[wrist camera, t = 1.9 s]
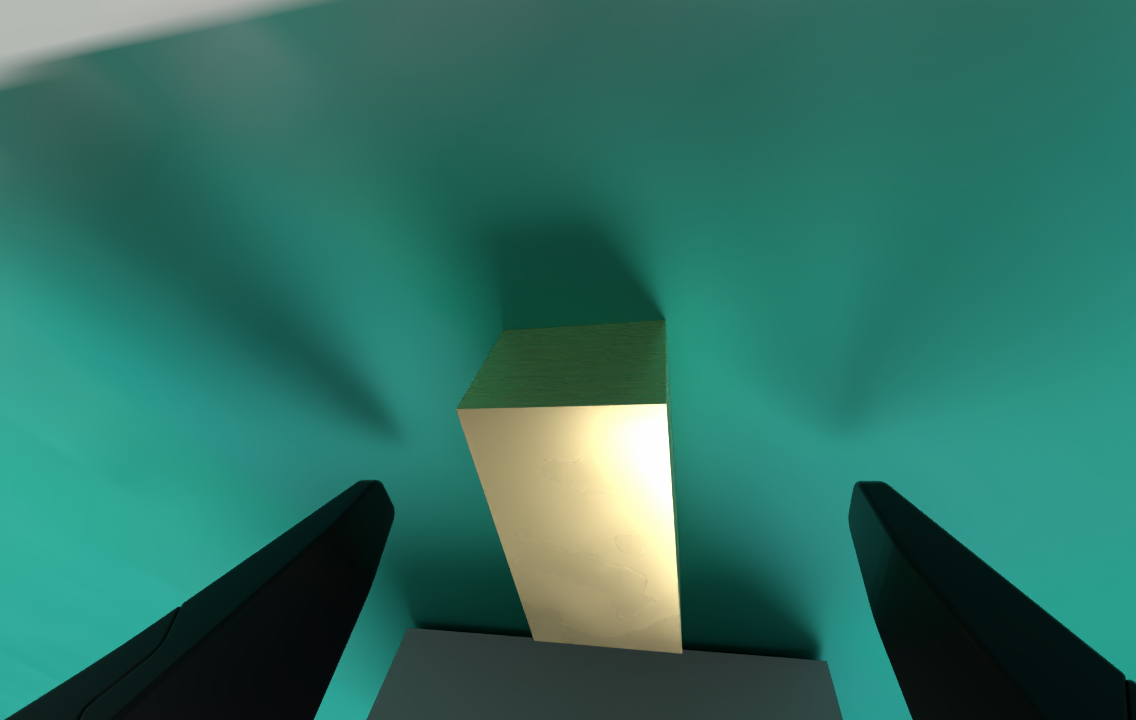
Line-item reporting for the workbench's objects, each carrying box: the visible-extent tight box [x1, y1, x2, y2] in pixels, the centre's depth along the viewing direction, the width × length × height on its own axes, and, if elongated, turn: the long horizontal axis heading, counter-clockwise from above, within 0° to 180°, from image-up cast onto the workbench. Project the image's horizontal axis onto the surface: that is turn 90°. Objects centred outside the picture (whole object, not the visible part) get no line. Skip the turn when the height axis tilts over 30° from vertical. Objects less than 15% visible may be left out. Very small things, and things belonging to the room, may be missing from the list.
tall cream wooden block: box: [456, 320, 682, 654], centre depth 9 cm, size 3×6×2 cm, turn 9°
